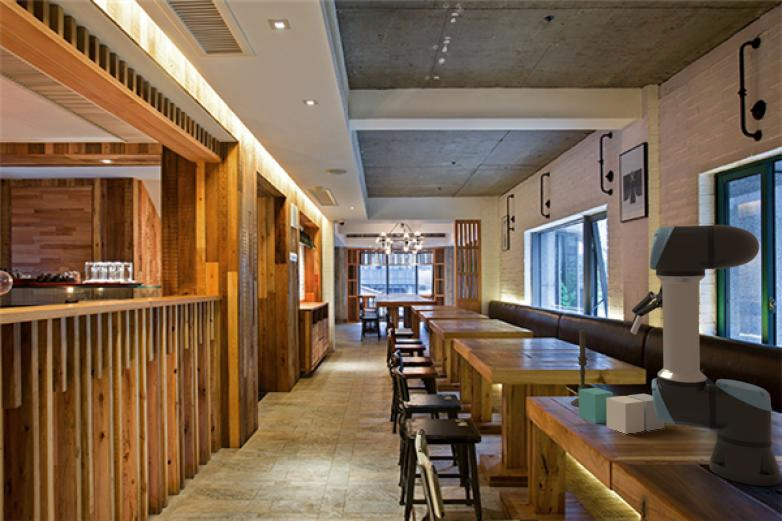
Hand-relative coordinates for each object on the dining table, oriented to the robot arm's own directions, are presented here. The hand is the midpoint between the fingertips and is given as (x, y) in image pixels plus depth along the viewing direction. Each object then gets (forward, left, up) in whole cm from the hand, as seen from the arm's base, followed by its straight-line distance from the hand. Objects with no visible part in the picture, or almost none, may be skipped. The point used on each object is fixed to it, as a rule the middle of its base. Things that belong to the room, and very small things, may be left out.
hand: (650, 339), depth 176 cm
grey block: (-6, +1, -29) cm, 30 cm away
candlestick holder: (+9, +26, -29) cm, 40 cm away
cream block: (-14, +5, -29) cm, 33 cm away
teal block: (-8, +16, -29) cm, 34 cm away
